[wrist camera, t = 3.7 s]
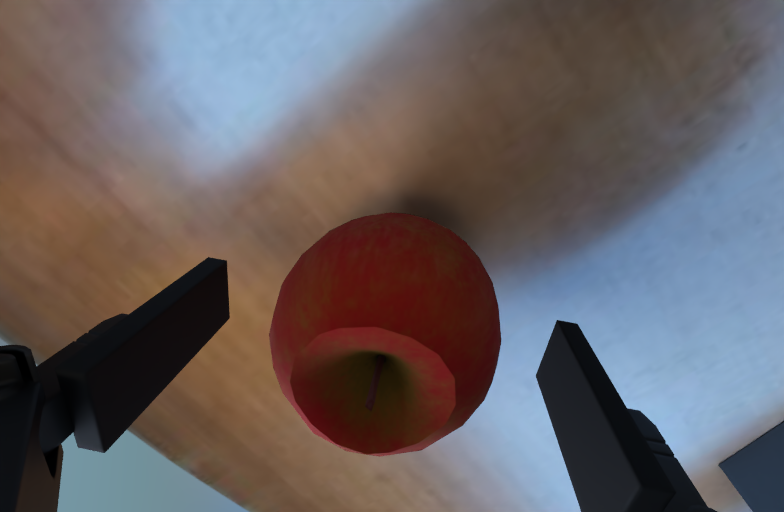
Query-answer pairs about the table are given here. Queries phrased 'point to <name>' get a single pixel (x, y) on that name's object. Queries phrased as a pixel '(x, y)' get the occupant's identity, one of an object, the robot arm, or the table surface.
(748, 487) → the shelf
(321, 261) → the apple
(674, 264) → the table surface
